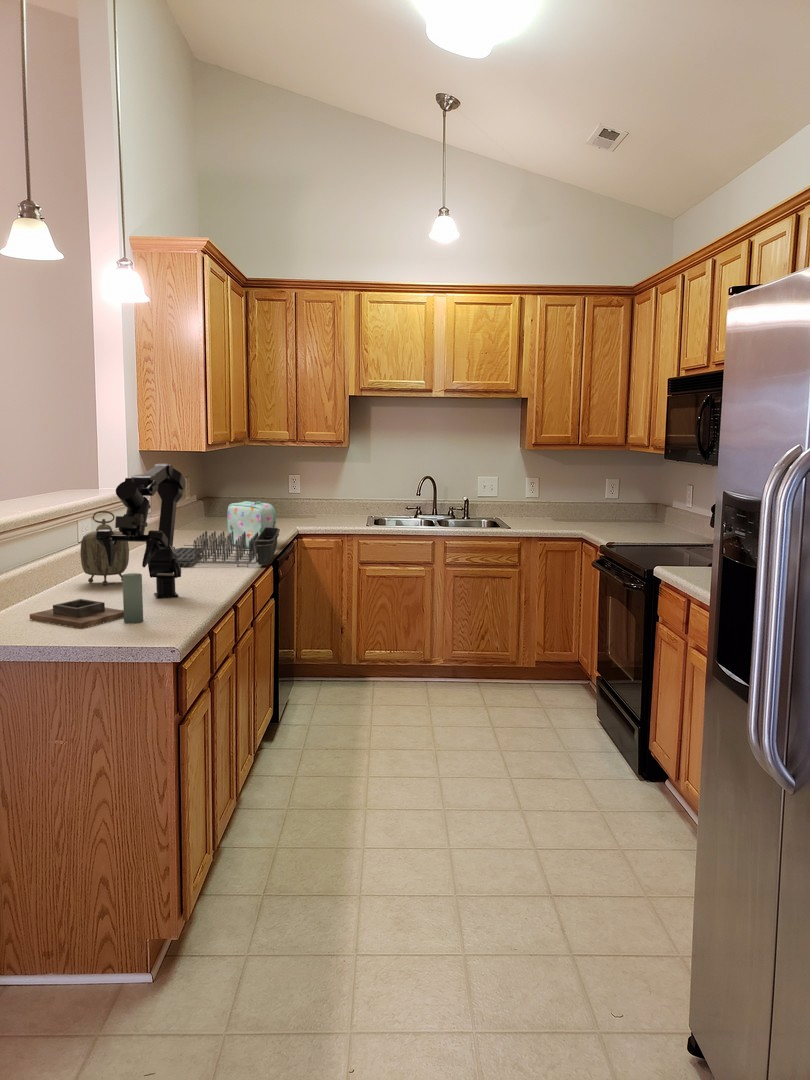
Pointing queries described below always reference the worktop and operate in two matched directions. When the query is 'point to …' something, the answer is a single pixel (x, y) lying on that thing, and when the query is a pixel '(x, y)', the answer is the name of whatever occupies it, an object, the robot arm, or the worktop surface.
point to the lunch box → (249, 519)
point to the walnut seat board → (78, 613)
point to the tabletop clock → (103, 554)
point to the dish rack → (232, 548)
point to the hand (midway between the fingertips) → (126, 566)
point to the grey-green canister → (132, 598)
